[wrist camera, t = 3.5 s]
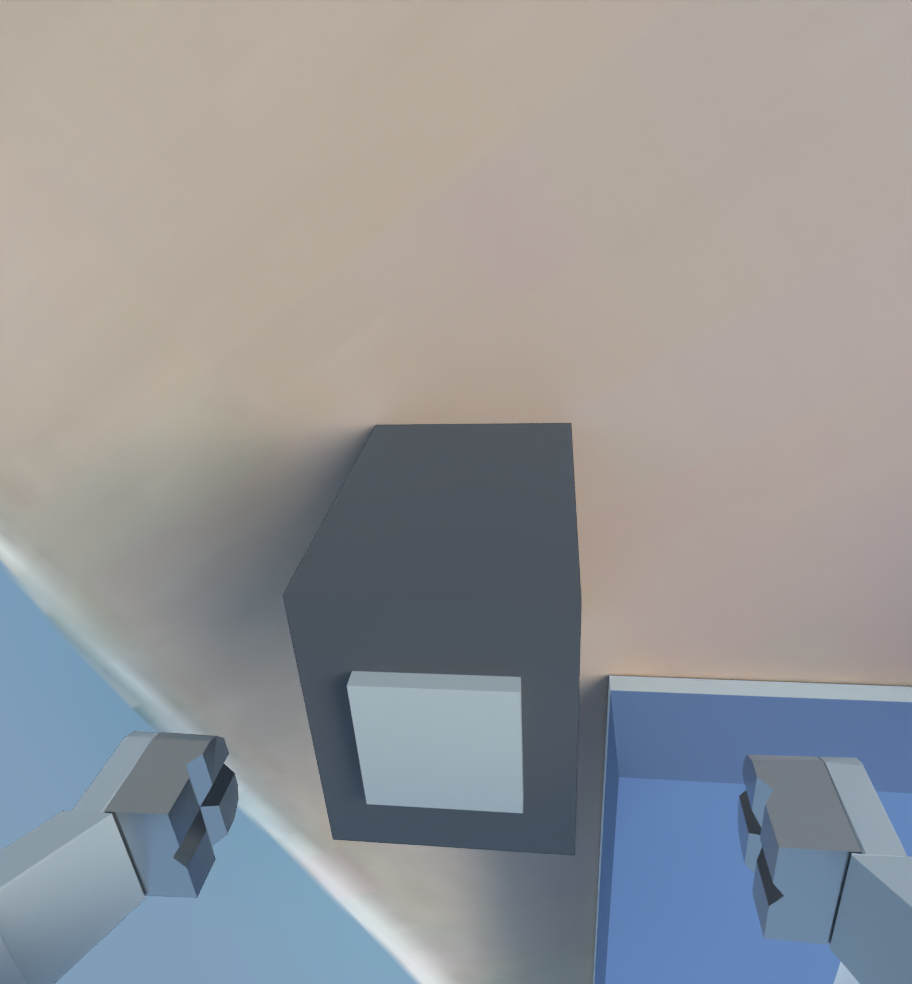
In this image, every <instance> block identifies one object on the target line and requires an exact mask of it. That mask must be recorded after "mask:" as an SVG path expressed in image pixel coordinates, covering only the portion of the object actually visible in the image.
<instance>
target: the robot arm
mask: <svg viewBox="0 0 912 984" xmlns="http://www.w3.org/2000/svg"><path fill="white" fill-rule="evenodd" d="M228 754H229V752H228V749H227V746H226V743H225V740H224V738H222V737H219V736H211V735H196V734H180V733H164V732H162V733H155V732H139V731H134V732H132V733H130V734H129V735H127V736H125V738H124V739H123V740H122V742H121V743H120V744H119V746H118V747H117V748H116V750H115V751H114V753H113V754H112V756H111V757H110V758H109V760H108V761H107V762H106V764H105V765H104V767H103V768H102V769H101V771H100V772H99V773H98V775H97V776H96V778H95V779H94V780H93V782H92V783H91V785H90V786H89V787H88V789H87V790H86V791H85V793H84V794H83V796H82V797H81V799H80V800H79V801H78V803H77V804H76V805H75V807H74V808H73V810H72V811H61V812H60V813H58V814H57V815H55V816H54V817H52V818H50V819H49V820H47V821H46V822H44V823H43V824H41V825H39V826H38V827H36V828H35V829H33V830H32V831H30V832H29V833H27V834H25V835H24V836H22V837H21V838H19V839H18V840H16V841H14V842H13V843H11V844H10V845H8V846H7V847H5V848H3V849H2V850H0V984H55V983H56V982H57V981H58V980H59V979H60V978H61V977H62V976H63V975H64V974H66V973H67V972H68V971H69V970H70V969H71V968H72V967H73V966H74V965H75V964H76V963H77V962H78V961H80V960H81V959H82V958H83V957H84V956H85V955H86V954H87V953H88V952H89V951H90V950H91V949H92V948H93V947H95V946H96V945H97V944H98V943H99V942H100V941H101V940H102V939H103V938H104V937H105V936H106V935H107V934H109V932H111V931H112V930H113V929H114V928H115V927H116V926H117V925H118V924H119V923H120V922H121V921H122V920H124V919H125V918H126V916H128V915H129V914H130V913H131V912H132V911H133V910H134V909H135V908H136V907H137V906H138V905H140V903H142V902H143V901H144V900H145V896H166V897H191V898H192V897H193V898H197V897H198V895H199V893H200V891H201V889H202V886H203V884H204V882H205V880H206V878H207V876H208V874H209V872H210V870H211V868H212V866H213V863H214V861H215V855H214V851H213V847H212V846H213V845H214V844H215V843H217V842H218V841H219V840H221V839H222V838H223V837H224V836H226V835H227V833H228V831H229V829H230V827H231V825H232V823H233V820H234V817H235V813H236V808H237V803H238V784H237V780H236V776H235V773H234V772H233V771H231V770H230V769H229V768H228V767H227V766H226V765H225V764H224V762H225V760H226V758H227V756H228ZM742 776H743V780H744V784H745V787H746V790H745V791H744V792H743V793H742V794H741V795H740V796H739V802H738V833H739V839H740V845H741V850H742V854H743V859H744V863H745V865H746V866H747V867H748V868H749V869H750V870H751V871H752V872H753V873H754V874H755V875H754V882H753V890H752V894H753V898H754V902H755V906H756V910H757V914H758V917H759V921H760V925H761V929H762V933H763V936H764V938H766V939H776V940H786V941H796V942H806V943H816V944H826V945H830V949H831V950H832V952H833V953H834V954H835V955H836V956H837V957H838V959H839V960H840V961H841V962H842V963H843V965H844V966H845V967H846V968H847V969H848V970H849V972H850V973H851V974H852V975H853V976H854V977H855V979H856V980H857V981H858V982H859V983H860V984H912V857H909V856H907V854H906V852H905V850H904V848H903V846H902V844H901V842H900V840H899V838H898V836H897V834H896V832H895V830H894V828H893V826H892V824H891V822H890V819H889V817H888V815H887V813H886V811H885V809H884V807H883V805H882V803H881V801H880V799H879V797H878V795H877V793H876V791H875V789H874V787H873V785H872V783H871V781H870V778H869V776H868V774H867V772H866V770H865V768H864V766H863V764H862V763H861V762H860V761H859V760H858V759H857V758H851V757H818V758H817V757H814V756H777V755H746V757H745V759H744V762H743V769H742Z"/></svg>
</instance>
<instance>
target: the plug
mask: <svg viewBox="0 0 912 984" xmlns="http://www.w3.org/2000/svg"><path fill="white" fill-rule="evenodd" d="M283 599H284V604H285V609H286V614H287V619H288V624H289V628H290V633H291V638H292V643H293V648H294V653H295V657H296V662H297V667H298V672H299V677H300V682H301V687H302V691H303V696H304V701H305V706H306V711H307V716H308V720H309V725H310V730H311V735H312V740H313V745H314V750H315V754H316V759H317V764H318V769H319V774H320V779H321V783H322V788H323V793H324V798H325V803H326V808H327V813H328V817H329V822H330V827H331V832H332V837H333V839H334V840H349V841H364V842H379V843H394V844H409V845H424V846H439V847H454V848H470V849H485V850H500V851H515V852H530V853H545V854H560V855H575V831H576V792H577V753H578V714H579V676H580V637H581V586H580V568H579V551H578V533H577V516H576V498H575V481H574V463H573V446H572V428H571V423H521V424H411V425H376V426H375V428H374V429H373V431H372V433H371V435H370V437H369V438H368V440H367V442H366V444H365V446H364V448H363V449H362V451H361V453H360V455H359V457H358V459H357V460H356V462H355V464H354V466H353V468H352V470H351V471H350V473H349V475H348V477H347V479H346V480H345V482H344V484H343V486H342V488H341V490H340V491H339V493H338V495H337V497H336V499H335V501H334V502H333V504H332V506H331V508H330V510H329V512H328V513H327V515H326V517H325V519H324V521H323V522H322V524H321V526H320V528H319V530H318V532H317V533H316V535H315V537H314V539H313V541H312V543H311V544H310V546H309V548H308V550H307V552H306V554H305V555H304V557H303V559H302V561H301V563H300V564H299V566H298V568H297V570H296V572H295V574H294V575H293V577H292V579H291V581H290V583H289V585H288V586H287V588H286V590H285V592H284V594H283Z"/></svg>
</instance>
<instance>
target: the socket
mask: <svg viewBox="0 0 912 984" xmlns="http://www.w3.org/2000/svg"><path fill="white" fill-rule="evenodd" d="M746 755H777V756H814V757H817V758H818V757H851V758H857V759H858V760H859V761H860V762H861V763H862V764H863V766H864V768H865V770H866V772H867V774H868V776H869V778H870V781H871V783H872V785H873V787H874V789H875V791H876V793H877V795H878V797H879V799H880V801H881V803H882V805H883V807H884V809H885V811H886V813H887V815H888V817H889V819H890V822H891V824H892V826H893V828H894V830H895V832H896V834H897V836H898V838H899V840H900V842H901V844H902V846H903V848H904V850H905V852H906V854H907V856H909V857H912V687H904V686H877V685H851V684H824V683H797V682H770V681H743V680H716V679H689V678H662V677H635V676H609V690H608V708H607V727H606V746H605V765H604V783H603V802H602V821H601V839H600V858H599V877H598V896H597V914H596V933H595V952H594V971H593V984H860V983H859V982H858V981H857V980H856V979H855V977H854V976H853V975H852V974H851V973H850V972H849V970H848V969H847V968H846V967H845V966H844V965H843V963H842V962H841V961H840V960H839V959H838V957H837V956H836V955H835V954H834V953H833V952H832V950H831V949H830V945H826V944H816V943H806V942H796V941H786V940H776V939H766V938H764V936H763V933H762V929H761V925H760V921H759V917H758V914H757V910H756V906H755V902H754V898H753V894H752V890H753V882H754V875H755V874H754V873H753V872H752V871H751V870H750V869H749V868H748V867H747V866H746V865H745V863H744V859H743V854H742V850H741V845H740V839H739V833H738V802H739V796H740V795H741V794H742V793H743V792H744V791H745V790H746V787H745V784H744V780H743V776H742V769H743V762H744V759H745V757H746Z"/></svg>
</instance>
